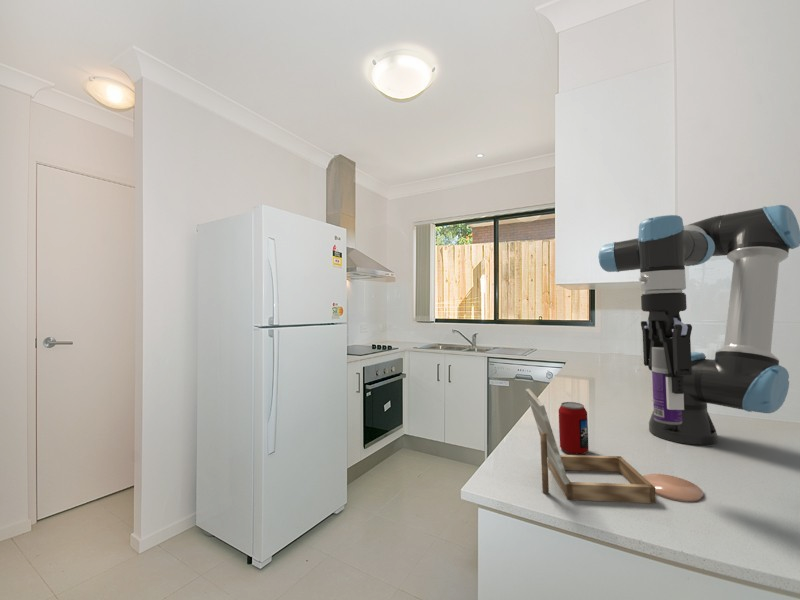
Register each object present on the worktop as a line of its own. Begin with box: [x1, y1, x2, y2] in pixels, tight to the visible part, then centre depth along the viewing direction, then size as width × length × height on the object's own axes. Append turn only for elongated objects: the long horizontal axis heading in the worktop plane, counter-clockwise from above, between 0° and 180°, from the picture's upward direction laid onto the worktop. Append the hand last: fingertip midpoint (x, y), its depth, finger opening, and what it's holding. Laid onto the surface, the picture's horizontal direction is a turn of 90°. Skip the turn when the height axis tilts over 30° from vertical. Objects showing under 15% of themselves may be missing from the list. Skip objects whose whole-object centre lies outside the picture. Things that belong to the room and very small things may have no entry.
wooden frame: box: [525, 388, 657, 504], centre depth 77 cm, size 20×14×19 cm
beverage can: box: [558, 401, 589, 455], centre depth 93 cm, size 7×7×12 cm
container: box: [652, 347, 682, 425], centre depth 74 cm, size 5×5×15 cm
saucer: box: [642, 473, 704, 503], centre depth 73 cm, size 10×10×1 cm
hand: (667, 405), depth 74 cm, fingers closed on container, 5 cm apart
